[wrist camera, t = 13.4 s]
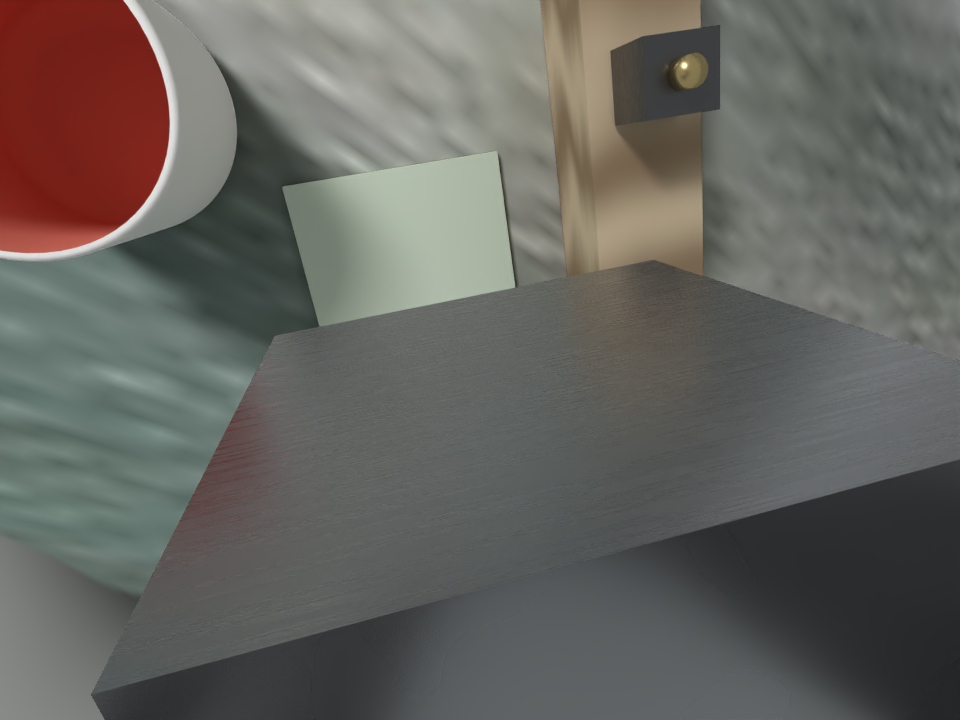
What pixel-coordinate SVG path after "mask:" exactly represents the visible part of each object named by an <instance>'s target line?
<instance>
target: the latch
mask: <svg viewBox="0 0 960 720" xmlns="http://www.w3.org/2000/svg"><path fill="white" fill-rule="evenodd" d="M610 53H611V70H612V86H613V102H614V119H615V126H617V125H624V124H631V123H637V122H644V121H650V120H656V119H662V118H668V117H674V116H680V115H686V114H692V113H699V112H705V111H711V110H717V109H720V25H717V26H710V27H703V28H696V29H689V30H682V31H675V32H668V33H661V34H654V35H647V36H642V37H640V38H638V39H635V40H633V41H631V42H629V43H627V44H624V45H622V46H620V47H618V48H616V49H613V50H611V51H610Z"/></svg>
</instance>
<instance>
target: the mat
mask: <svg viewBox="0 0 960 720" xmlns="http://www.w3.org/2000/svg"><path fill="white" fill-rule="evenodd" d="M282 189H283V193H284V196H285V200H286V204H287V208H288V211H289V215H290V219H291V222H292V226H293V230H294V234H295V237H296V241H297V245H298V249H299V252H300V256H301V260H302V263H303V267H304V271H305V275H306V278H307V282H308V286H309V290H310V293H311V297H312V301H313V304H314V308H315V312H316V316H317V319H318V323H319V327H321V326H326V325H331V324H336V323H341V322H346V321H351V320H356V319H361V318H366V317H371V316H376V315H381V314H386V313H391V312H396V311H401V310H406V309H411V308H416V307H421V306H426V305H431V304H436V303H441V302H446V301H451V300H456V299H461V298H466V297H470V296H475V295H480V294H485V293H490V292H495V291H500V290H505V289H510V288H515V281H514V274H513V266H512V259H511V251H510V244H509V236H508V229H507V221H506V214H505V206H504V199H503V191H502V184H501V176H500V169H499V161H498V154H497V151H493V152H487V153H481V154H475V155H469V156H463V157H457V158H451V159H445V160H439V161H433V162H427V163H421V164H415V165H409V166H403V167H397V168H391V169H385V170H379V171H373V172H367V173H361V174H355V175H349V176H343V177H337V178H331V179H325V180H319V181H312V182H306V183H300V184H294V185H288V186H283V187H282Z"/></svg>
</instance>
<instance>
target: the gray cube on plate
mask: <svg viewBox="0 0 960 720" xmlns="http://www.w3.org/2000/svg"><path fill="white" fill-rule="evenodd" d="M91 696H92V698H93V699H94V701H95V703H96V705H97V706H98V708H99V710H100V712H101V714H102V715H103V717H104V719H105V720H960V360H957V359H954V358H951V357H948V356H944V355H941V354H938V353H935V352H932V351H929V350H926V349H923V348H920V347H917V346H914V345H911V344H908V343H905V342H902V341H899V340H896V339H893V338H890V337H887V336H884V335H881V334H878V333H875V332H872V331H869V330H866V329H863V328H859V327H856V326H853V325H850V324H847V323H844V322H841V321H838V320H835V319H832V318H829V317H826V316H823V315H820V314H817V313H814V312H811V311H808V310H805V309H802V308H799V307H796V306H793V305H790V304H787V303H784V302H781V301H778V300H775V299H771V298H768V297H765V296H762V295H759V294H756V293H753V292H750V291H747V290H744V289H741V288H738V287H735V286H732V285H729V284H726V283H723V282H720V281H717V280H714V279H711V278H708V277H705V276H702V275H699V274H696V273H693V272H690V271H687V270H683V269H680V268H677V267H674V266H671V265H668V264H665V263H662V262H659V261H656V260H650V261H645V262H640V263H635V264H630V265H625V266H620V267H615V268H610V269H605V270H600V271H595V272H590V273H585V274H580V275H575V276H570V277H565V278H560V279H555V280H550V281H545V282H540V283H535V284H530V285H525V286H520V287H515V288H510V289H505V290H500V291H495V292H490V293H485V294H480V295H475V296H470V297H466V298H461V299H456V300H451V301H446V302H441V303H436V304H431V305H426V306H421V307H416V308H411V309H406V310H401V311H396V312H391V313H386V314H381V315H376V316H371V317H366V318H361V319H356V320H351V321H346V322H341V323H336V324H331V325H326V326H321V327H316V328H311V329H306V330H301V331H296V332H291V333H286V334H281V335H276V336H274V338H273V340H272V342H271V344H270V346H269V348H268V349H267V351H266V353H265V355H264V357H263V359H262V361H261V363H260V365H259V367H258V369H257V371H256V373H255V375H254V377H253V379H252V381H251V383H250V385H249V387H248V389H247V391H246V392H245V394H244V396H243V398H242V400H241V402H240V404H239V406H238V408H237V410H236V412H235V414H234V416H233V418H232V420H231V422H230V424H229V426H228V428H227V430H226V432H225V434H224V436H223V437H222V439H221V441H220V443H219V445H218V447H217V449H216V451H215V453H214V455H213V457H212V459H211V461H210V463H209V465H208V467H207V469H206V471H205V473H204V475H203V477H202V479H201V480H200V482H199V484H198V486H197V488H196V490H195V492H194V494H193V496H192V498H191V500H190V502H189V504H188V506H187V508H186V510H185V512H184V514H183V516H182V518H181V520H180V522H179V523H178V525H177V527H176V529H175V531H174V533H173V535H172V537H171V539H170V541H169V543H168V545H167V547H166V549H165V551H164V553H163V555H162V557H161V559H160V561H159V563H158V565H157V567H156V568H155V570H154V572H153V574H152V576H151V578H150V580H149V582H148V584H147V586H146V588H145V590H144V592H143V594H142V596H141V598H140V600H139V602H138V604H137V606H136V608H135V610H134V612H133V613H132V615H131V617H130V620H129V621H128V623H127V625H126V627H125V629H124V631H123V633H122V635H121V637H120V639H119V641H118V643H117V645H116V647H115V649H114V651H113V653H112V655H111V656H110V658H109V660H108V662H107V664H106V666H105V668H104V670H103V672H102V674H101V676H100V678H99V680H98V682H97V684H96V686H95V688H94V690H93V692H92V694H91Z"/></svg>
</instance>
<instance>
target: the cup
mask: <svg viewBox="0 0 960 720" xmlns="http://www.w3.org/2000/svg"><path fill="white" fill-rule="evenodd" d="M236 145H237V123H236V116H235V110H234V105H233V101H232V98H231V95H230V92H229V89H228V86H227V84H226V82H225V79H224V77H223V75H222V73H221V71H220V69H219V68H218V66H217V64H216V63H215V61H214V59H213V58H212V56H211V55H210V53H209V52H208V51H207V49H206V48H205V47H204V46H203V44H202V43H201V42H200V41H199V40H198V39H197V37H196V36H195V35H194V34H193V33H192V32H191V31H190V30H189V29H188V28H187V27H186V26H185V25H184V24H183V23H181V22H180V21H179V20H178V19H177V18H175V17H174V16H173V15H172V14H170V13H169V12H168V11H167V10H165V9H164V8H163V7H161V6H160V5H159V4H158V3H156V2H155V1H154V0H0V258H2V259H8V260H16V261H30V262H39V261H57V260H65V259H71V258H76V257H80V256H84V255H87V254H90V253H93V252H96V251H99V250H103V249H106V248H109V247H112V246H115V245H118V244H121V243H124V242H127V241H130V240H133V239H136V238H139V237H142V236H145V235H148V234H151V233H154V232H157V231H160V230H163V229H166V228H169V227H173V226H176V225H178V224H180V223H182V222H185V221H186V220H188V219H190V218H192V217H193V216H195V215H196V214H198V213H199V212H200V211H202V210H203V209H204V208H205V207H206V206H207V205H209V204H210V203H211V201H212V200H213V199H214V198H215V197H216V196H217V194H218V193H219V191H220V190H221V189H222V187H223V186H224V184H225V182H226V180H227V178H228V176H229V173H230V171H231V168H232V165H233V162H234V157H235V153H236Z"/></svg>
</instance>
